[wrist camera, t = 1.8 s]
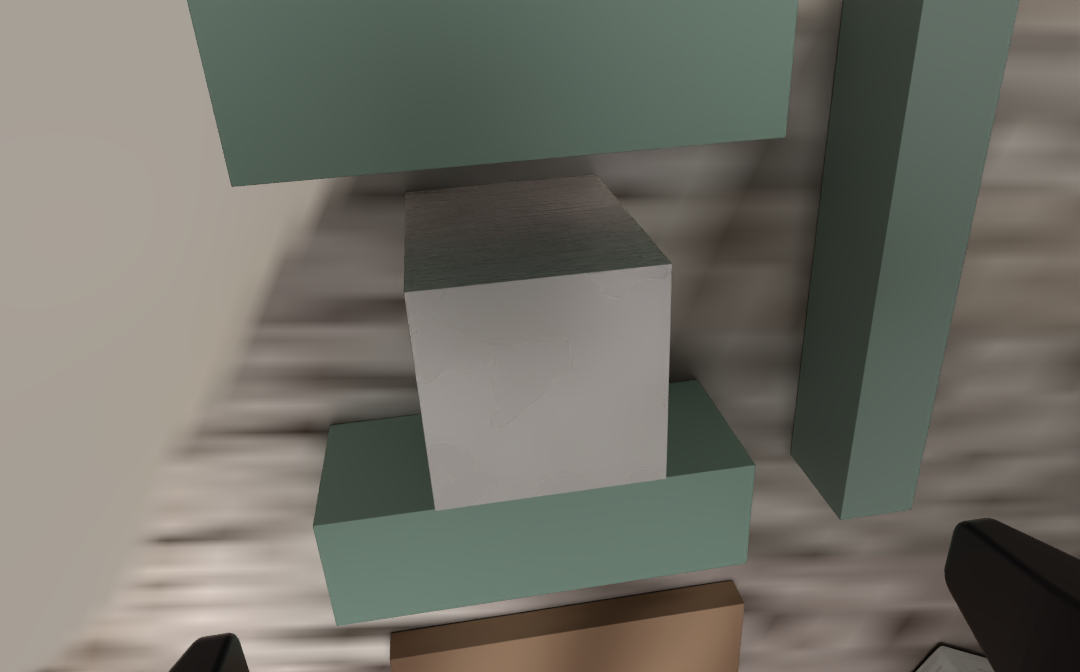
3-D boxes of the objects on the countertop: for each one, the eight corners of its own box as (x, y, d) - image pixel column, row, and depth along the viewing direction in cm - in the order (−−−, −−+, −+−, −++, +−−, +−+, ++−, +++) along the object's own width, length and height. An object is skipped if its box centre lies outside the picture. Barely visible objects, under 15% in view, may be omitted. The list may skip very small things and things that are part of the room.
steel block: (595, 174, 18) (671, 263, 13) (598, 341, 20) (666, 478, 15) (405, 191, 18) (403, 292, 12) (428, 361, 20) (435, 511, 14)
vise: (956, -192, 16) (1113, -235, 12) (853, 445, 23) (933, 534, 20) (206, -162, 14) (139, -200, 11) (349, 514, 21) (336, 625, 18)
